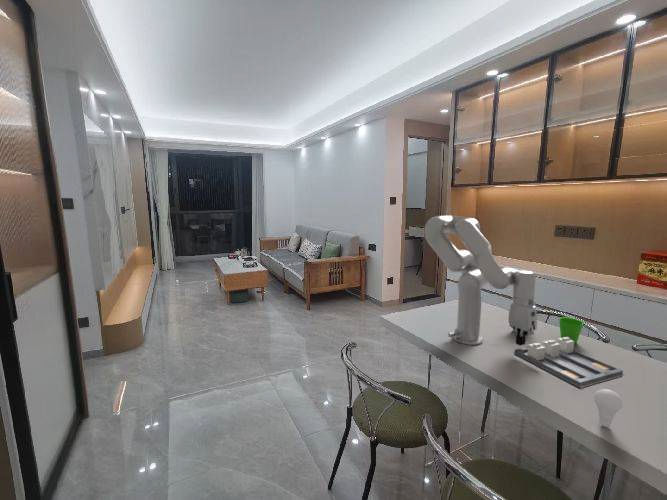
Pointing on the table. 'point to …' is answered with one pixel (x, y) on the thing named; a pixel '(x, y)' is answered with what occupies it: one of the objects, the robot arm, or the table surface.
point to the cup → (570, 328)
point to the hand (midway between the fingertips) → (520, 344)
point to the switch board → (573, 367)
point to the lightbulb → (607, 405)
